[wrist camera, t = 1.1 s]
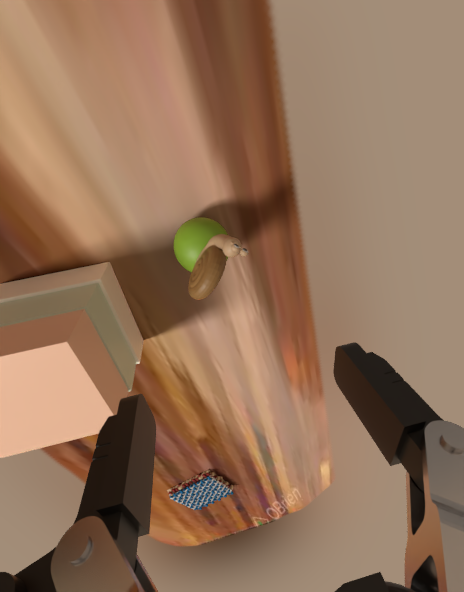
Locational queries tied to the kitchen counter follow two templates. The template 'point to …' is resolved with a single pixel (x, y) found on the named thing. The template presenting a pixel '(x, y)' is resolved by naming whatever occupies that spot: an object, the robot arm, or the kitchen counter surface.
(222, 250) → the snail figurine
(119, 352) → the stacked pastel boxes
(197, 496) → the woven mat
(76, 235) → the kitchen counter surface
